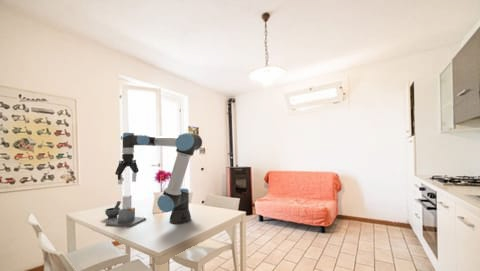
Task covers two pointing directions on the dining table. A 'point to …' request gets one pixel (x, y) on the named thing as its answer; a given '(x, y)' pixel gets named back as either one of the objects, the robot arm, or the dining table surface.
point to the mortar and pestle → (113, 211)
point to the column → (127, 202)
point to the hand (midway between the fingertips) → (127, 182)
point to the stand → (126, 219)
